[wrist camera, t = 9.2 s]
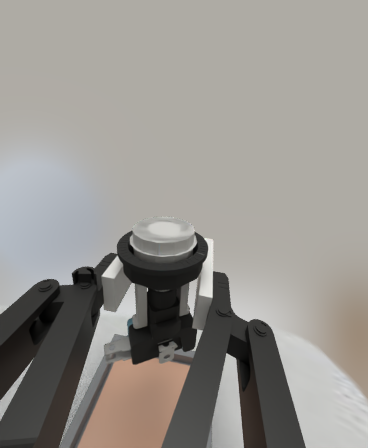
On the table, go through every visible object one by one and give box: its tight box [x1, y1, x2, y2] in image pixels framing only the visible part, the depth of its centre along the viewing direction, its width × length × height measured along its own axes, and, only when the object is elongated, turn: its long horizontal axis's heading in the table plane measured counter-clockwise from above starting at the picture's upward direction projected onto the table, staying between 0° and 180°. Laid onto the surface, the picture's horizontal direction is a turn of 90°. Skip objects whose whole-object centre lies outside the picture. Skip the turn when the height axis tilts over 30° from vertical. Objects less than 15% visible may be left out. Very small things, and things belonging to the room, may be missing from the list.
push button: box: [104, 217, 208, 365], centre depth 13 cm, size 7×5×10 cm
